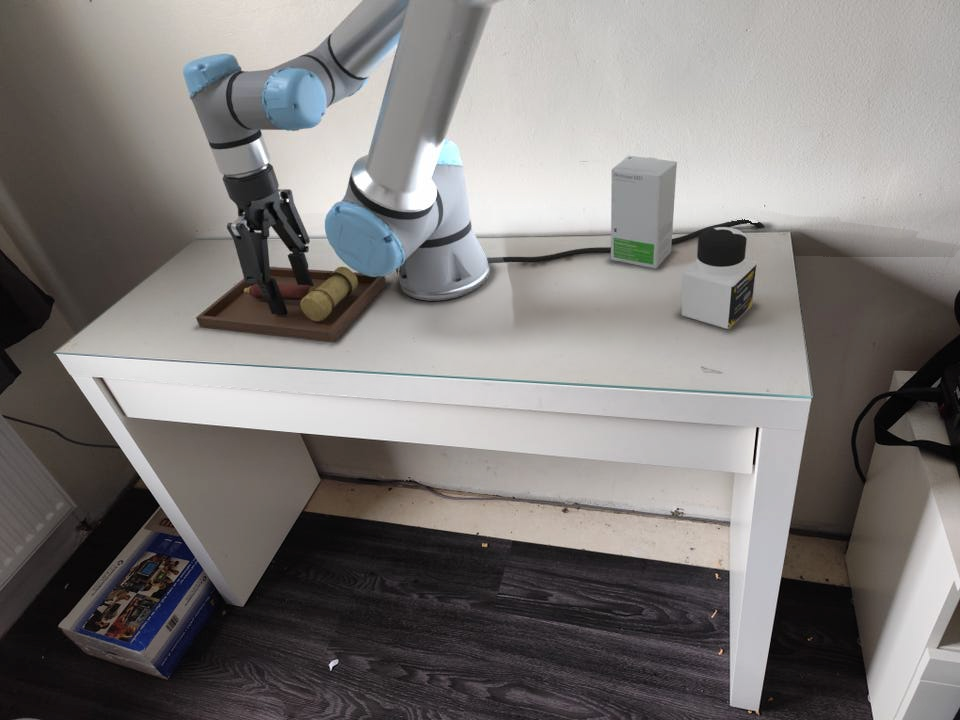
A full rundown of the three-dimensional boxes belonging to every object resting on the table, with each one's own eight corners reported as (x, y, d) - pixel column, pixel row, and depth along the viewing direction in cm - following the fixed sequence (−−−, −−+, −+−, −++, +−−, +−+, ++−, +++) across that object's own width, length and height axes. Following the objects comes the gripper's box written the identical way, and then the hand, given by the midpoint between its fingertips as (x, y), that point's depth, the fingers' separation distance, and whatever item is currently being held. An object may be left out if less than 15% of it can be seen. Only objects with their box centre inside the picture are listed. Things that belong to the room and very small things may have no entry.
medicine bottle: (728, 330, 90) (736, 250, 83) (680, 316, 95) (683, 239, 88) (752, 306, 94) (761, 227, 87) (705, 293, 98) (710, 217, 91)
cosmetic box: (610, 261, 110) (607, 169, 101) (627, 243, 114) (626, 154, 105) (658, 269, 106) (660, 175, 97) (674, 251, 110) (677, 158, 101)
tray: (386, 284, 115) (384, 274, 114) (333, 342, 102) (330, 332, 101) (262, 274, 125) (259, 265, 123) (199, 327, 112) (195, 317, 111)
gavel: (220, 294, 112) (258, 265, 119) (231, 317, 114) (267, 287, 121) (318, 297, 102) (353, 266, 109) (328, 323, 105) (362, 290, 112)
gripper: (266, 145, 108) (308, 270, 121) (180, 196, 93) (238, 332, 107) (304, 144, 105) (343, 272, 119) (222, 197, 91) (276, 336, 104)
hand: (293, 300), depth 113 cm, fingers closed on gavel, 7 cm apart
